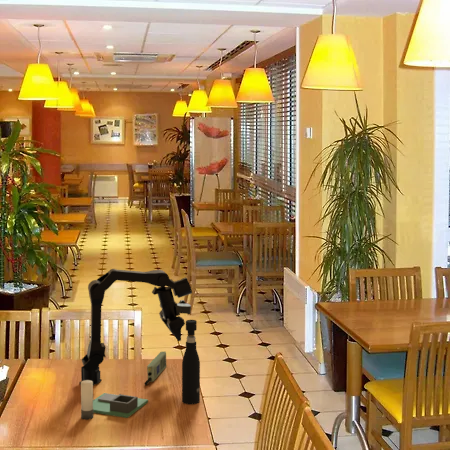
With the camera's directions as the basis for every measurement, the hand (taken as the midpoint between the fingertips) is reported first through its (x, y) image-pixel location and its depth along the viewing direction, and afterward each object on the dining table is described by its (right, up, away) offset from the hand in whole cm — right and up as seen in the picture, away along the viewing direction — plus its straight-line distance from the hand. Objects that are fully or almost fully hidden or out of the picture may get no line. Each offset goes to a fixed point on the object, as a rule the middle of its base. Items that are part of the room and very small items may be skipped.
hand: (176, 337), depth 304 cm
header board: (-20, -20, -32) cm, 43 cm away
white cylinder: (-28, -21, -42) cm, 55 cm away
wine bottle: (+7, -19, -27) cm, 34 cm away
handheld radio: (-9, -16, +1) cm, 18 cm away
